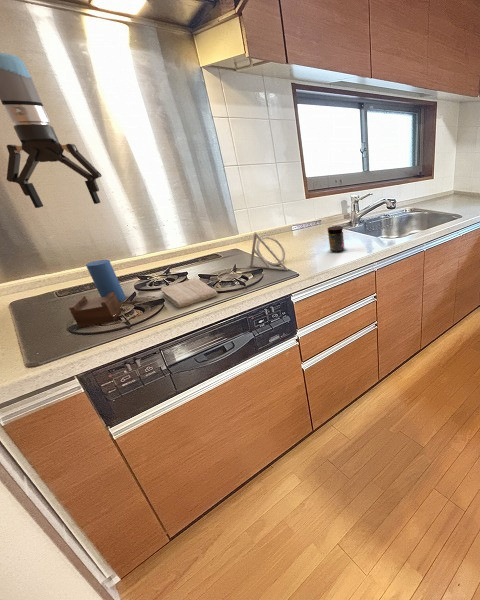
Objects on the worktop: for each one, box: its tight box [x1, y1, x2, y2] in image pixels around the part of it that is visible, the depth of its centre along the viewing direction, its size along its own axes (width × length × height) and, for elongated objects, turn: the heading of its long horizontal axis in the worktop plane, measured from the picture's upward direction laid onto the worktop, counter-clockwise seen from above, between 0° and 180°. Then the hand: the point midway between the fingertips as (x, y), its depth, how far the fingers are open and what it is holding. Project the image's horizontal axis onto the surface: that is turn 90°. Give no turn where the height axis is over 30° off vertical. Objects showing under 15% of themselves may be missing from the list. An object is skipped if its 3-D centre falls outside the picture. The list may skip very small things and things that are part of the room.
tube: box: [85, 259, 127, 303], centre depth 102 cm, size 13×6×6 cm
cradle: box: [68, 291, 123, 329], centre depth 93 cm, size 8×8×6 cm
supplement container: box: [327, 225, 346, 254], centre depth 146 cm, size 7×7×10 cm
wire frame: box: [249, 232, 289, 271], centre depth 131 cm, size 18×13×16 cm
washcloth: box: [160, 278, 219, 308], centre depth 106 cm, size 12×18×3 cm, turn 50°
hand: (69, 205), depth 97 cm, fingers open, 13 cm apart
